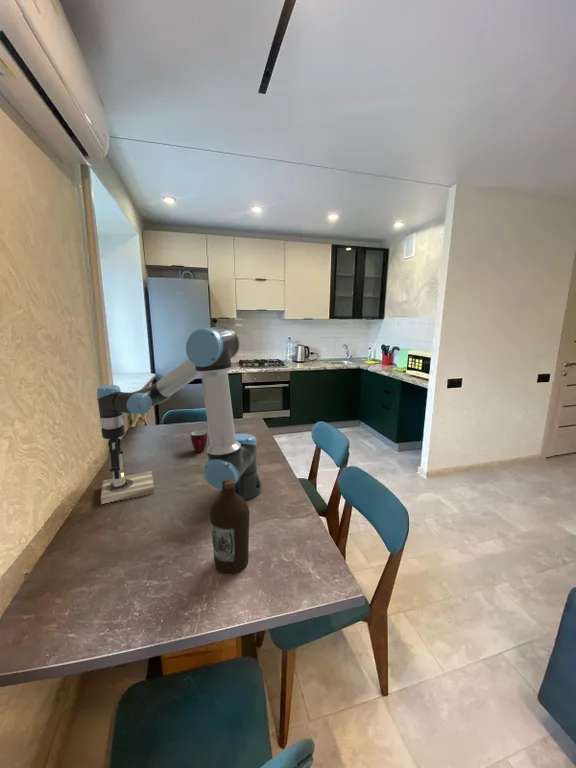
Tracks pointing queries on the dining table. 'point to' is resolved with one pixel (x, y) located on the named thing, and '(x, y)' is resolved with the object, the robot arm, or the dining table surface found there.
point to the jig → (128, 488)
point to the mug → (199, 440)
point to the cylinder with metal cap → (122, 481)
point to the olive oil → (230, 530)
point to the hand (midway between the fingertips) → (118, 477)
